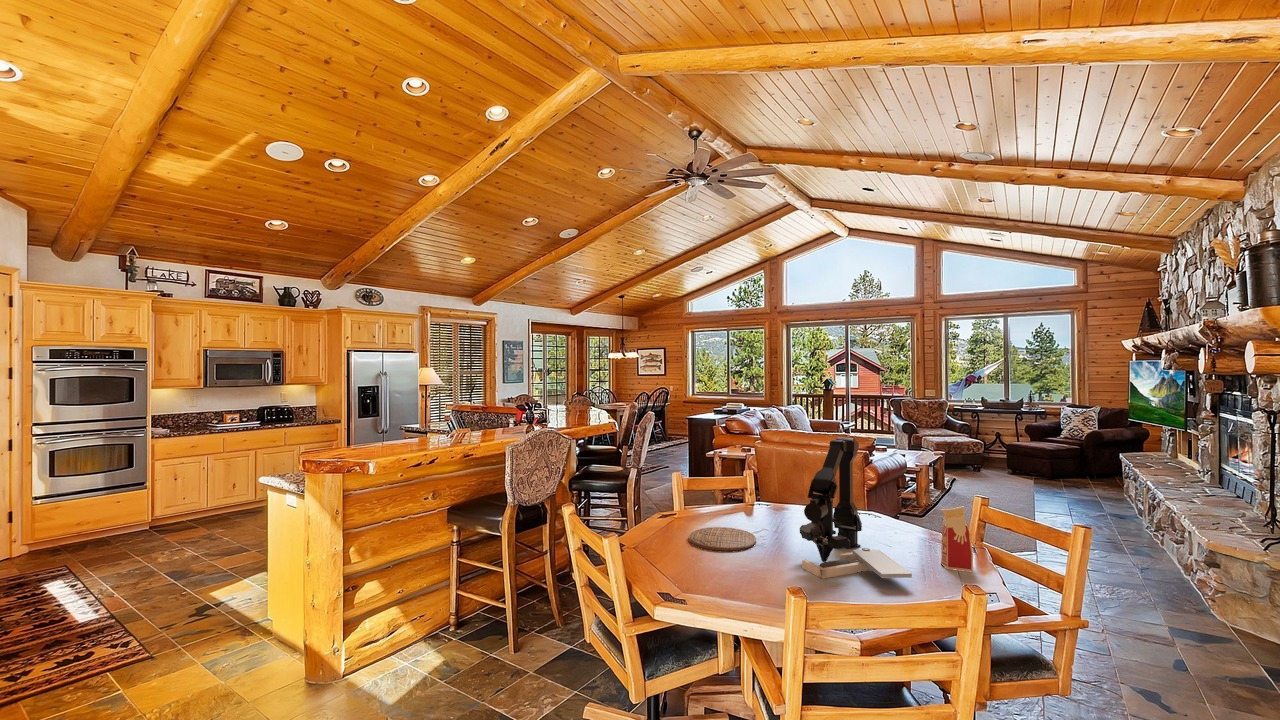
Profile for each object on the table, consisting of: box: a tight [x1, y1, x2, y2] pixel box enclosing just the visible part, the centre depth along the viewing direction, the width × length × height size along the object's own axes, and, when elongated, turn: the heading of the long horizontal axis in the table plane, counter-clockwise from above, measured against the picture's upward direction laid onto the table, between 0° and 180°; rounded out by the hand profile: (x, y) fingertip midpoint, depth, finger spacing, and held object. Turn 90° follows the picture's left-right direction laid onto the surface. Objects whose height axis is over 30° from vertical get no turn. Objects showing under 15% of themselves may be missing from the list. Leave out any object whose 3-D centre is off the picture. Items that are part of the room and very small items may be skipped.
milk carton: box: [940, 505, 974, 573], centre depth 189 cm, size 9×9×20 cm
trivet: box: [688, 526, 757, 553], centre depth 216 cm, size 25×25×2 cm
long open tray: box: [801, 551, 873, 580], centre depth 187 cm, size 23×10×3 cm, turn 112°
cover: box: [852, 547, 913, 579], centre depth 181 cm, size 23×9×1 cm, turn 2°
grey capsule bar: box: [818, 559, 852, 568], centre depth 185 cm, size 12×3×3 cm, turn 112°
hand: (824, 561), depth 190 cm, fingers closed
